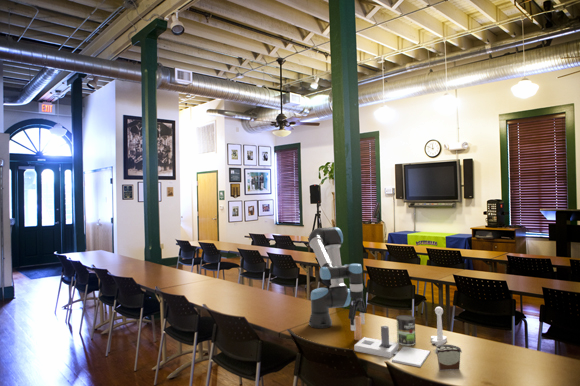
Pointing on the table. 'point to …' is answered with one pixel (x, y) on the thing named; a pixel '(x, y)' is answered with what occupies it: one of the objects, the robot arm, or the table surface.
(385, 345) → the ball
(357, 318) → the jaw pin orange
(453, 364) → the food container
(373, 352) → the housing
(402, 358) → the lid
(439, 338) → the joystick
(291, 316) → the table surface
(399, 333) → the coffee can
